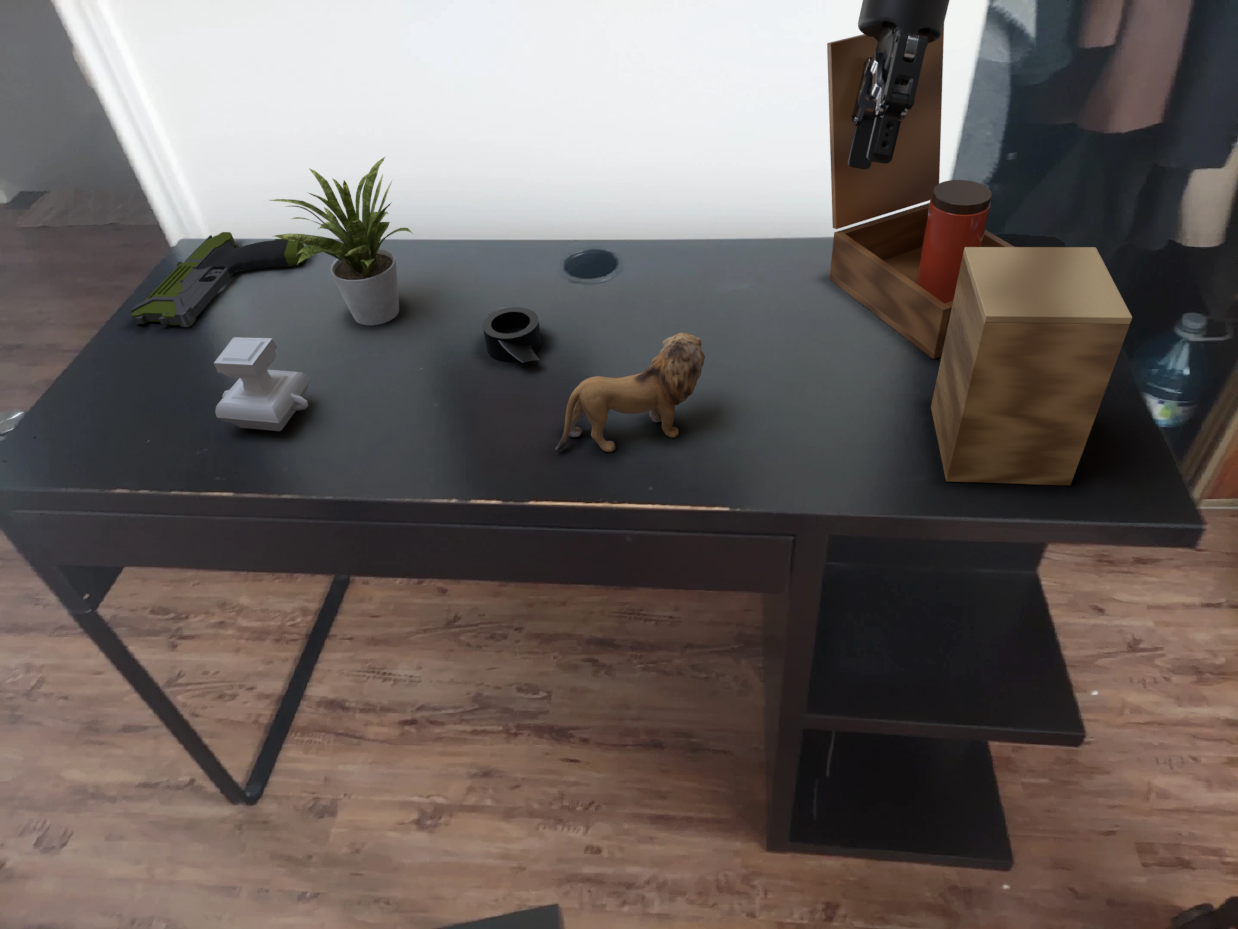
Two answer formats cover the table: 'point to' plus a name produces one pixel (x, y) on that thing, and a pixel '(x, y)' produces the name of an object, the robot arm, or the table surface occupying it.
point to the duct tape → (512, 334)
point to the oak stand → (1018, 394)
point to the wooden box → (894, 275)
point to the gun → (209, 277)
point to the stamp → (258, 386)
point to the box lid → (915, 145)
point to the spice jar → (951, 234)
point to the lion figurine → (638, 391)
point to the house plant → (355, 249)
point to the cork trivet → (1044, 285)
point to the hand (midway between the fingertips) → (867, 165)
